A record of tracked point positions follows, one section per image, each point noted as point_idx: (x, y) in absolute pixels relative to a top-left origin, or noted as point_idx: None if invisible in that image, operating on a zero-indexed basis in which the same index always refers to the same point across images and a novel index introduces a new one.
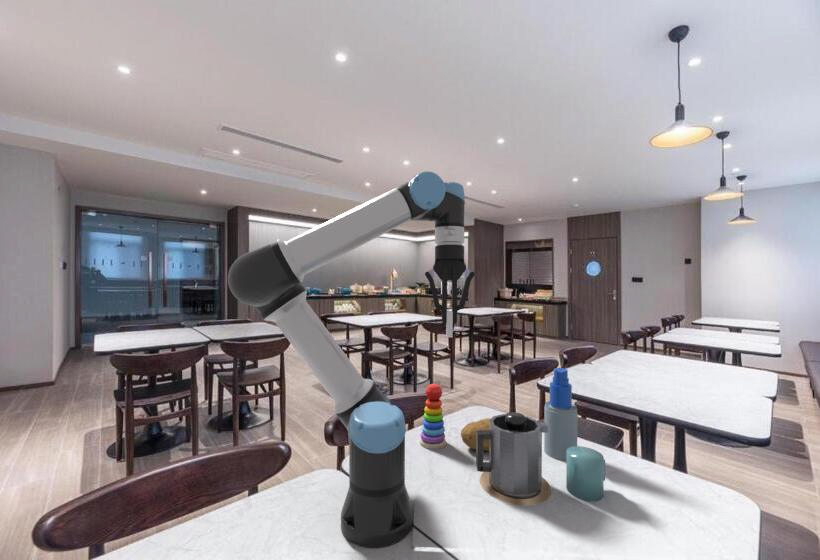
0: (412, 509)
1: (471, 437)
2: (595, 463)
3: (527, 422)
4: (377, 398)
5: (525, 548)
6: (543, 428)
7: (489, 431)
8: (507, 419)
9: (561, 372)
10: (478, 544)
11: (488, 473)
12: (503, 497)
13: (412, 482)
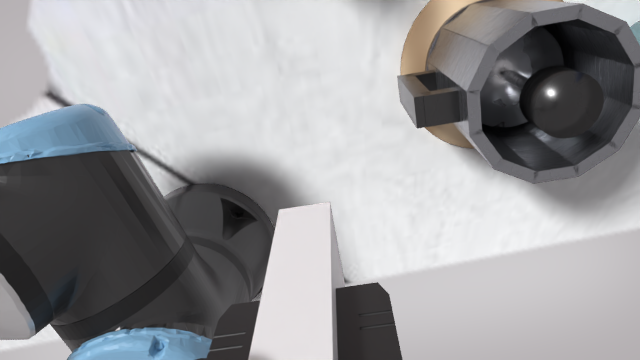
0: (271, 240)
1: None
2: None
3: (609, 36)
4: (72, 284)
5: (471, 250)
6: None
7: (457, 99)
8: (534, 122)
9: None
10: (394, 257)
11: (425, 28)
12: (453, 129)
13: (236, 104)
